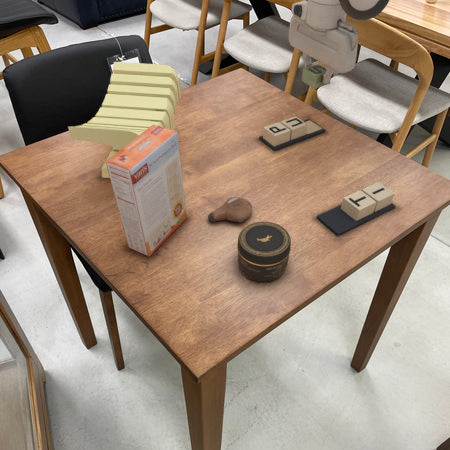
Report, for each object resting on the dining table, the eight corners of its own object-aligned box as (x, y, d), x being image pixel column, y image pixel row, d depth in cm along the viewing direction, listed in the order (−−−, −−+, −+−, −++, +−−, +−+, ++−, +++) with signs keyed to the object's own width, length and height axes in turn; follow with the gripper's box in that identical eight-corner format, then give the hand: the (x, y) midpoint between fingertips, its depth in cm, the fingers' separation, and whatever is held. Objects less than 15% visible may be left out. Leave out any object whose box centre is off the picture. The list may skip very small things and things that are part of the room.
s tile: (316, 75, 111) (318, 62, 108) (330, 83, 108) (332, 70, 106) (301, 80, 109) (303, 67, 106) (314, 88, 106) (316, 75, 104)
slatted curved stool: (157, 205, 99) (145, 132, 85) (90, 199, 100) (67, 126, 87) (184, 134, 118) (178, 65, 104) (127, 130, 119) (114, 61, 105)
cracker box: (165, 210, 98) (153, 121, 82) (187, 219, 96) (179, 130, 80) (125, 248, 90) (103, 158, 74) (149, 258, 88) (131, 169, 72)
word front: (372, 191, 101) (376, 178, 99) (395, 208, 98) (400, 194, 95) (316, 217, 96) (318, 204, 93) (337, 236, 92) (341, 222, 89)
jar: (297, 267, 86) (302, 238, 81) (263, 293, 82) (265, 265, 76) (261, 241, 91) (263, 213, 85) (226, 265, 87) (226, 237, 81)
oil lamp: (219, 204, 100) (206, 227, 95) (216, 190, 97) (203, 212, 92) (256, 209, 97) (245, 232, 93) (255, 194, 94) (243, 217, 90)
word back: (308, 120, 122) (310, 107, 119) (325, 132, 118) (327, 118, 115) (258, 138, 116) (259, 125, 113) (274, 151, 112) (275, 137, 109)
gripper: (370, 25, 92) (355, 90, 103) (308, -3, 103) (300, 59, 114) (348, 31, 90) (335, 97, 101) (287, 3, 101) (281, 65, 112)
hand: (316, 77), depth 108 cm, fingers closed on s tile, 5 cm apart
